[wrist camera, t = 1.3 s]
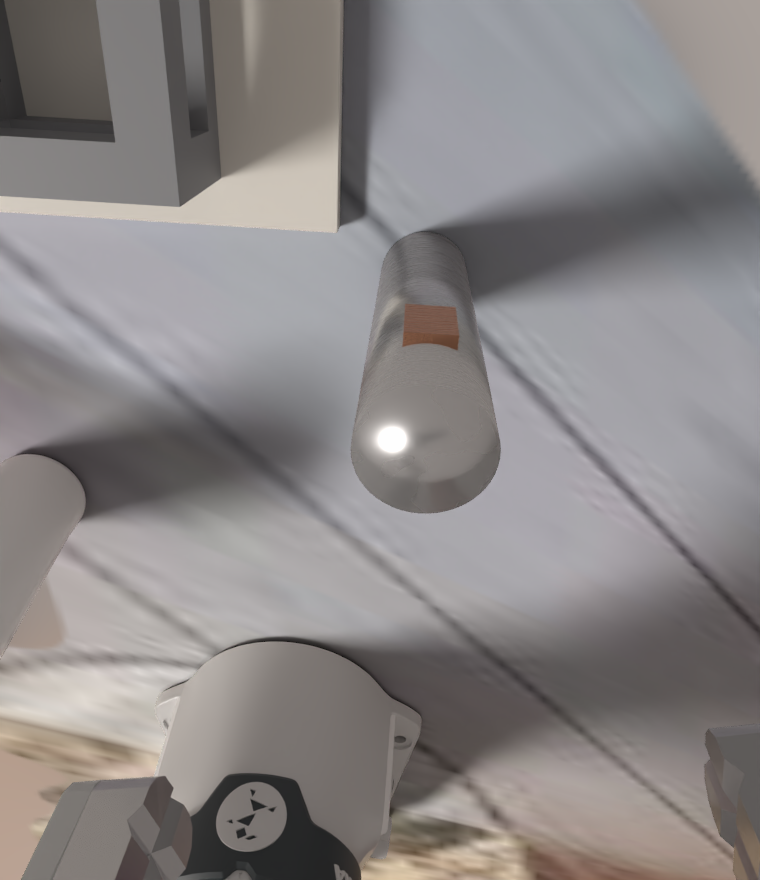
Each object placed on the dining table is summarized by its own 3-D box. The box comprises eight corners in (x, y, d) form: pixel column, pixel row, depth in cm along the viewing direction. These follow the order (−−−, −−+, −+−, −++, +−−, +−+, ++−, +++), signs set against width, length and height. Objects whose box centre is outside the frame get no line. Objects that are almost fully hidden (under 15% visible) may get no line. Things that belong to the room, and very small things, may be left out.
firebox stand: (339, 226, 31) (308, 298, 22) (-91, 199, 31) (-285, 260, 23) (346, -180, 24) (304, -303, 15) (-211, -208, 24) (-558, -343, 16)
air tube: (461, 318, 33) (490, 518, 19) (379, 312, 33) (348, 508, 19) (471, 227, 31) (512, 380, 17) (383, 222, 31) (353, 369, 17)
